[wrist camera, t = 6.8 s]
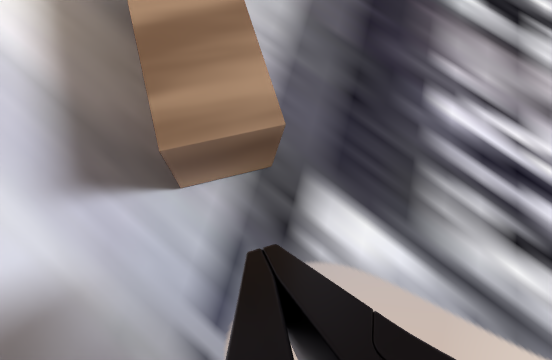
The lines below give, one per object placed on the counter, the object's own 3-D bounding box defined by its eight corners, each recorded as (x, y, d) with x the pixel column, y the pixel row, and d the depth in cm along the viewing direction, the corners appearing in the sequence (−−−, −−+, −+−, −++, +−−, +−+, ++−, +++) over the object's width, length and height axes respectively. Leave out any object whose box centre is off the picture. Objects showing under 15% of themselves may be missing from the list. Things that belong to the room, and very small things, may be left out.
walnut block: (285, 124, 13) (206, -112, 16) (159, 151, 12) (104, -108, 15) (271, 166, 17) (212, -24, 21) (180, 187, 16) (135, -16, 20)
